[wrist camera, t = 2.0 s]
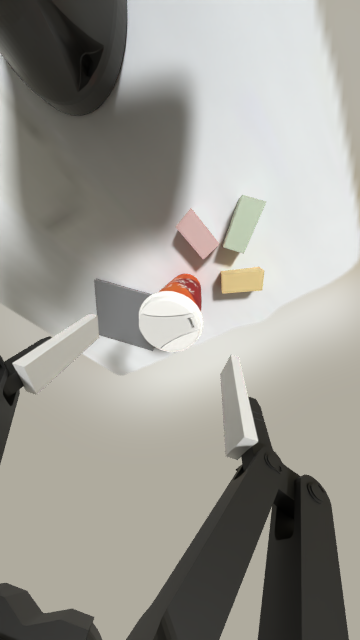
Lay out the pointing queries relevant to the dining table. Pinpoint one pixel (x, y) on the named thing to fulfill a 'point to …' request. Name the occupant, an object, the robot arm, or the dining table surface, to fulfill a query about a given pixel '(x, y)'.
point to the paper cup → (173, 315)
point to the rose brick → (197, 234)
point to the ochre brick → (242, 280)
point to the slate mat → (120, 313)
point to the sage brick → (243, 223)
